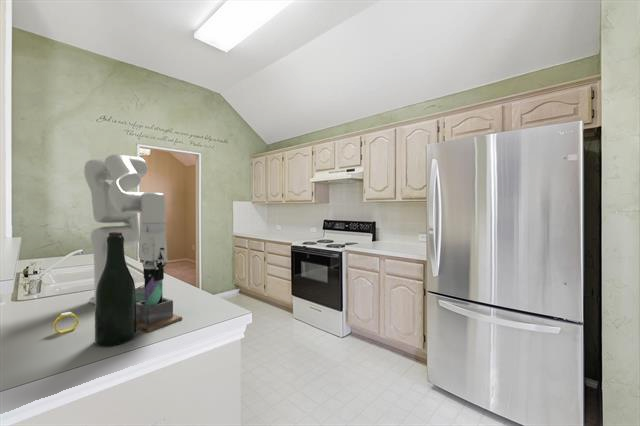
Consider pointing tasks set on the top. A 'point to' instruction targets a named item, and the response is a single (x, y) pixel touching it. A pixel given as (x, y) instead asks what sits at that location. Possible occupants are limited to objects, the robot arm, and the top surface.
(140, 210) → the robot arm
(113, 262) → the beer bottle
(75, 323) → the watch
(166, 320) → the can holder
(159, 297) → the spray can
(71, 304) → the top surface
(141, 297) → the food container
